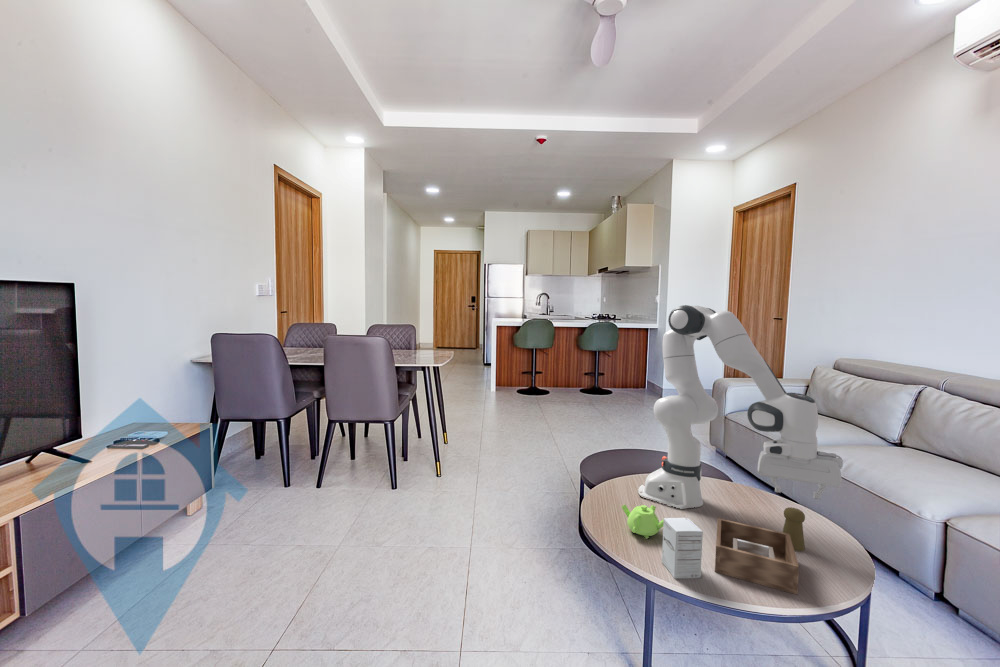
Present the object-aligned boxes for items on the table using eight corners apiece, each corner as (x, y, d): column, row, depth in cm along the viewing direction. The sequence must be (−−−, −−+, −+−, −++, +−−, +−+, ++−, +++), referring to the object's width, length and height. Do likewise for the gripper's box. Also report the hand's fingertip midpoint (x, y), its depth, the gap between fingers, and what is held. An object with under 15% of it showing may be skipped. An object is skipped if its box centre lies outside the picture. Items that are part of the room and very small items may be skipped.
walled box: (714, 571, 111) (716, 545, 111) (716, 540, 127) (717, 518, 127) (797, 594, 103) (798, 566, 102) (788, 558, 118) (789, 534, 118)
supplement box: (660, 562, 115) (662, 517, 114) (686, 562, 115) (688, 516, 115) (673, 579, 108) (675, 531, 107) (701, 578, 108) (703, 530, 108)
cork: (806, 545, 126) (808, 509, 125) (803, 553, 121) (805, 516, 121) (782, 537, 130) (784, 503, 129) (778, 545, 125) (780, 509, 125)
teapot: (630, 541, 125) (631, 514, 125) (619, 522, 137) (620, 497, 136) (667, 542, 125) (669, 515, 125) (653, 523, 137) (655, 498, 136)
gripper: (840, 451, 122) (838, 498, 122) (757, 441, 132) (756, 485, 132) (845, 457, 116) (844, 507, 117) (759, 446, 126) (757, 492, 126)
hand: (797, 495), depth 124 cm, fingers open, 8 cm apart
